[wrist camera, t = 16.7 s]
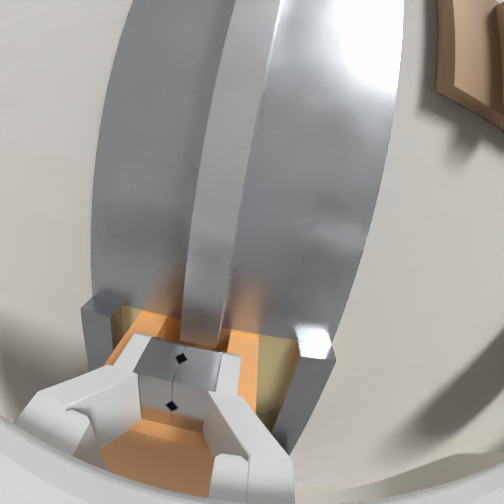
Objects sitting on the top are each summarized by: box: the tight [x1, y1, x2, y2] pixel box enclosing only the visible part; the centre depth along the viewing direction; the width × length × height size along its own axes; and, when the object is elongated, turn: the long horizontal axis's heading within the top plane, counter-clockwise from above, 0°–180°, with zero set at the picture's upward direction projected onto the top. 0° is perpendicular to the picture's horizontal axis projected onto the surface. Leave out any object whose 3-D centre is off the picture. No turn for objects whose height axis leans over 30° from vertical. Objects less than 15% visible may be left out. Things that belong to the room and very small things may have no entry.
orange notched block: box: [100, 313, 259, 498], centre depth 9 cm, size 5×5×6 cm
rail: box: [81, 0, 403, 455], centre depth 9 cm, size 10×28×4 cm, turn 170°
